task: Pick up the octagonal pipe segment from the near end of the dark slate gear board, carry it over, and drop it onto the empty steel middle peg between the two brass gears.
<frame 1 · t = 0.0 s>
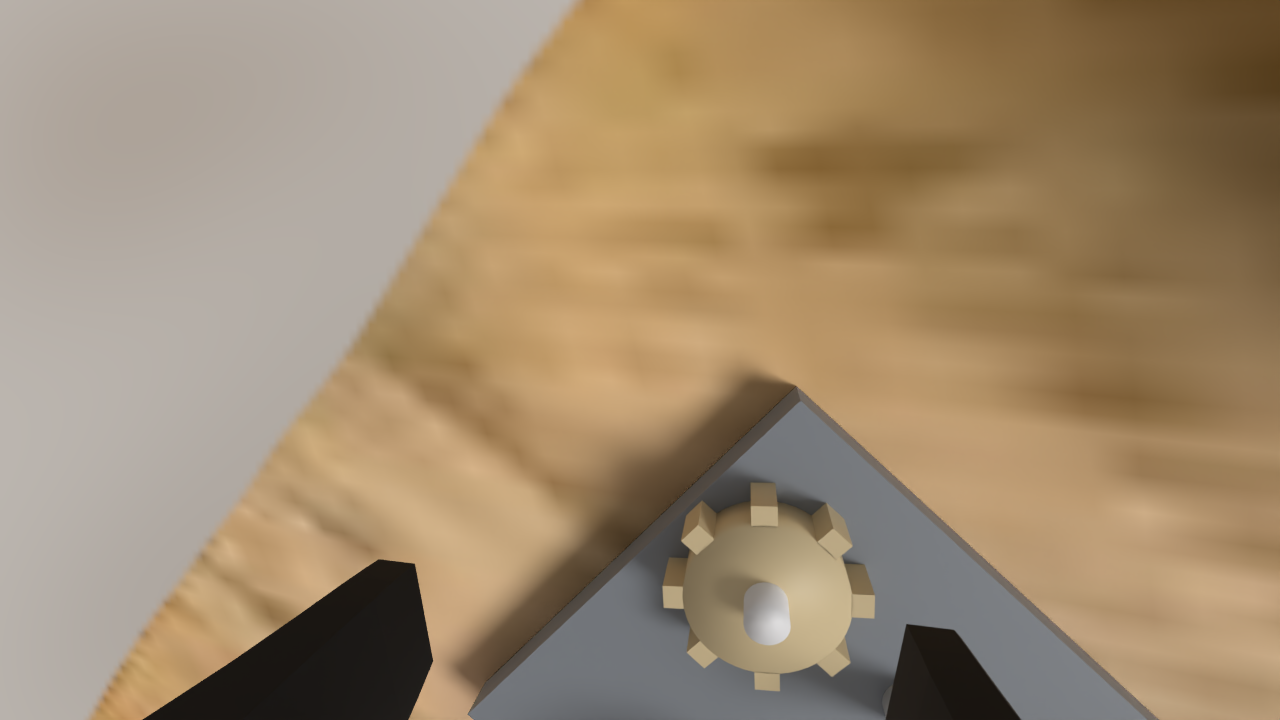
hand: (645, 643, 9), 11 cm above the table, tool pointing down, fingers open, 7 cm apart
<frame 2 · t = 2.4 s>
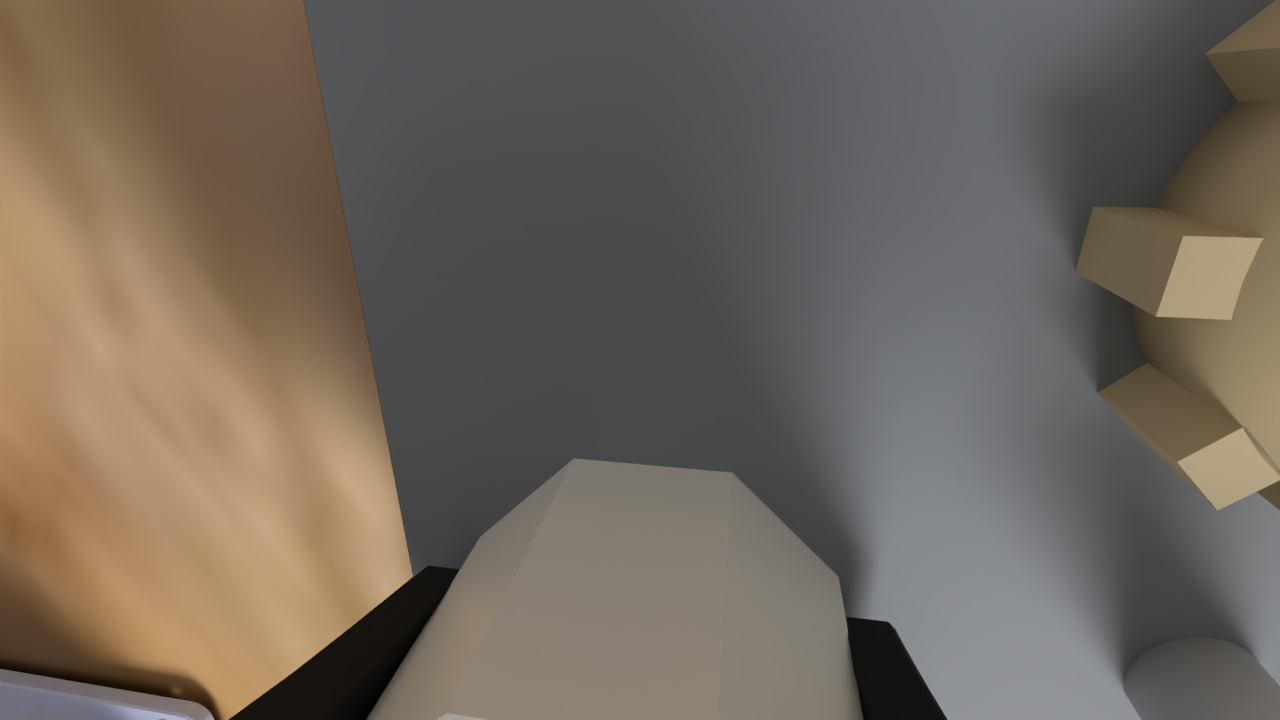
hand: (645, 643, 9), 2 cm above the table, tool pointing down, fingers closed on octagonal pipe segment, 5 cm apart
octagonal pipe segment: (651, 612, 10), point 2 cm above the table, touching gear board, gripper
gear board: (899, 574, 10), on the table
when the fingers open (3 cm above the table, at t = 6.1 s): octagonal pipe segment drops 1 cm, resting on gear board.
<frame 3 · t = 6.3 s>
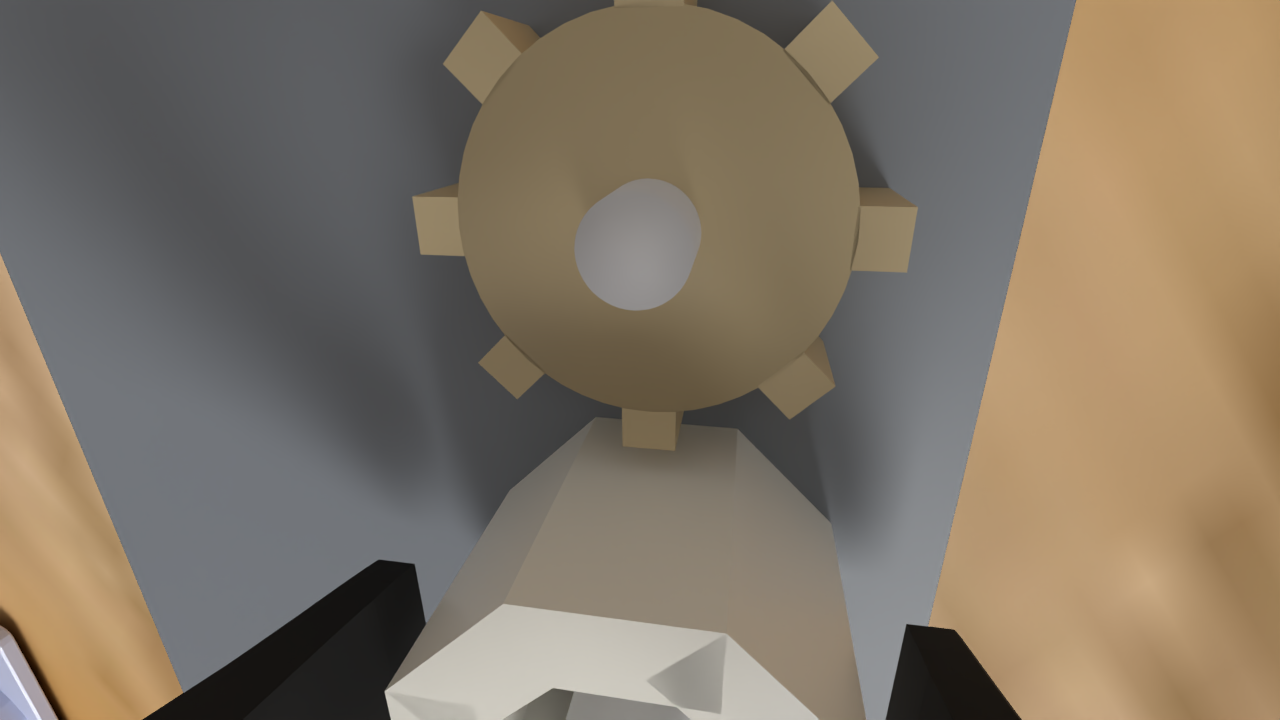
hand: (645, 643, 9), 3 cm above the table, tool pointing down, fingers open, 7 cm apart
octagonal pipe segment: (663, 559, 11), point 1 cm above the table, touching gear board
gear board: (502, 491, 13), on the table
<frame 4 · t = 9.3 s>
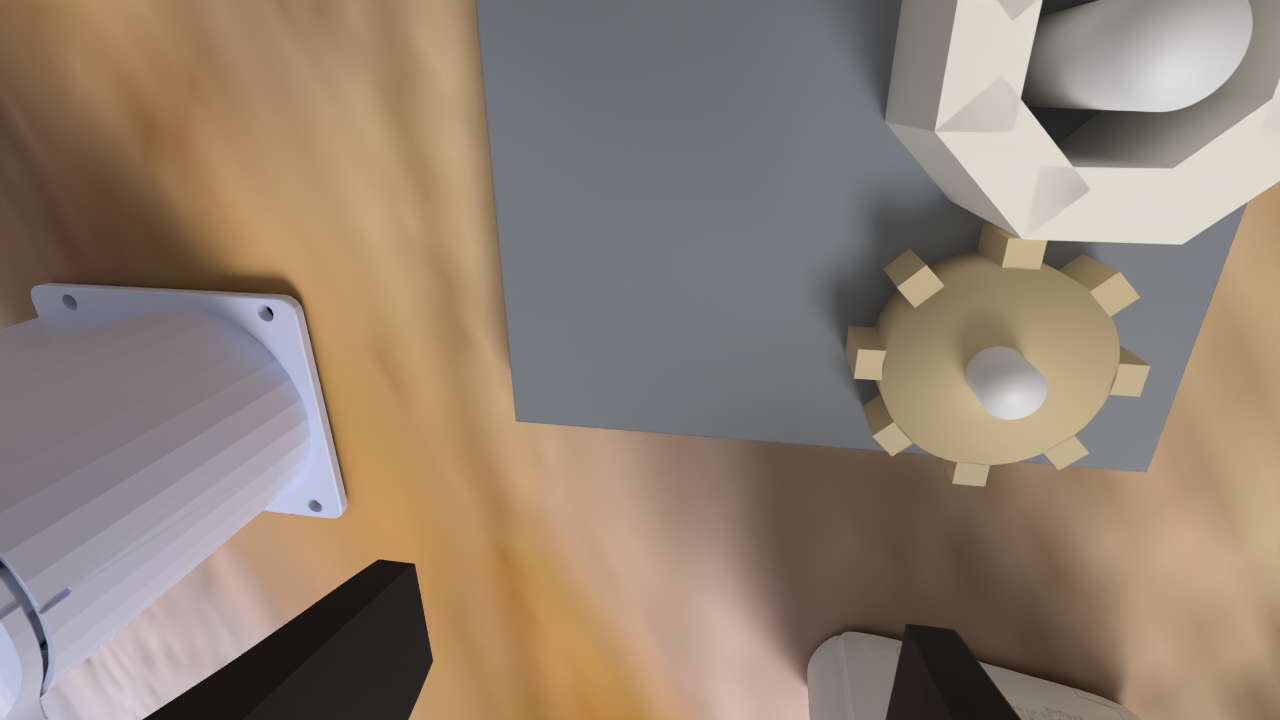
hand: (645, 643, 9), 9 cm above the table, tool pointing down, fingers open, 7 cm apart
octagonal pipe segment: (1037, 61, 12), point 1 cm above the table, touching gear board
gear board: (841, 68, 14), on the table
photo printer: (956, 690, 21), on the table
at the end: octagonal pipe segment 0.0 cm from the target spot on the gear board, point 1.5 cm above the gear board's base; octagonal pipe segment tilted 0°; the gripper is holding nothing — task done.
